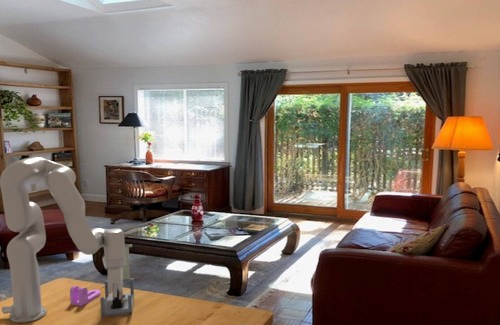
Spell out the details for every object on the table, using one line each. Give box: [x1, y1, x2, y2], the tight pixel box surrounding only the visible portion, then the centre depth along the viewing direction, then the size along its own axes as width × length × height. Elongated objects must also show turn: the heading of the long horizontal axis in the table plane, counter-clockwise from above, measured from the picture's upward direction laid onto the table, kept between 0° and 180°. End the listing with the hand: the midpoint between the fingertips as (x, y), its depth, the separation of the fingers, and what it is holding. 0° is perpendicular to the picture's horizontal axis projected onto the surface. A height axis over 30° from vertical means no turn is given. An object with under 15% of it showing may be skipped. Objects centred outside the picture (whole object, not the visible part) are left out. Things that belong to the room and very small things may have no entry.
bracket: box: [69, 285, 102, 307], centre depth 183 cm, size 13×6×7 cm, turn 159°
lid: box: [123, 243, 133, 283], centre depth 181 cm, size 11×15×1 cm
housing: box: [99, 277, 135, 318], centre depth 175 cm, size 11×15×8 cm
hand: (117, 307), depth 171 cm, fingers closed, pressing on housing, orange jaw
